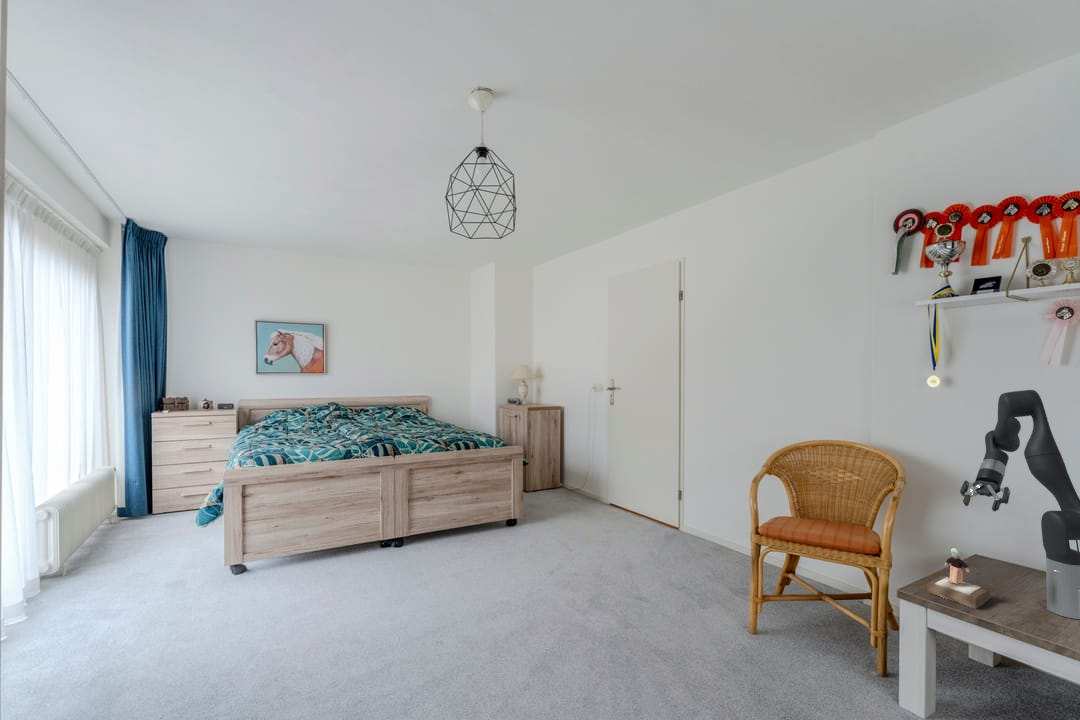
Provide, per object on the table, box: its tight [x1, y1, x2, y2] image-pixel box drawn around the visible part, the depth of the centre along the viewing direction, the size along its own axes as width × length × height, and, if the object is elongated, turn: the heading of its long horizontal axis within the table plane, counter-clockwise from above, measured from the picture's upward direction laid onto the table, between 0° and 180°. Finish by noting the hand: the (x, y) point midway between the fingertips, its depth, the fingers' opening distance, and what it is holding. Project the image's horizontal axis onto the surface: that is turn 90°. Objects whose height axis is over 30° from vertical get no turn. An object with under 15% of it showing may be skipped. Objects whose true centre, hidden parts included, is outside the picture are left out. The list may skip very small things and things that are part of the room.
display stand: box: [926, 575, 991, 610], centre depth 182 cm, size 14×12×4 cm
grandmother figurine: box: [944, 547, 971, 587], centre depth 182 cm, size 8×4×13 cm, turn 35°
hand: (979, 507), depth 197 cm, fingers open, 8 cm apart
